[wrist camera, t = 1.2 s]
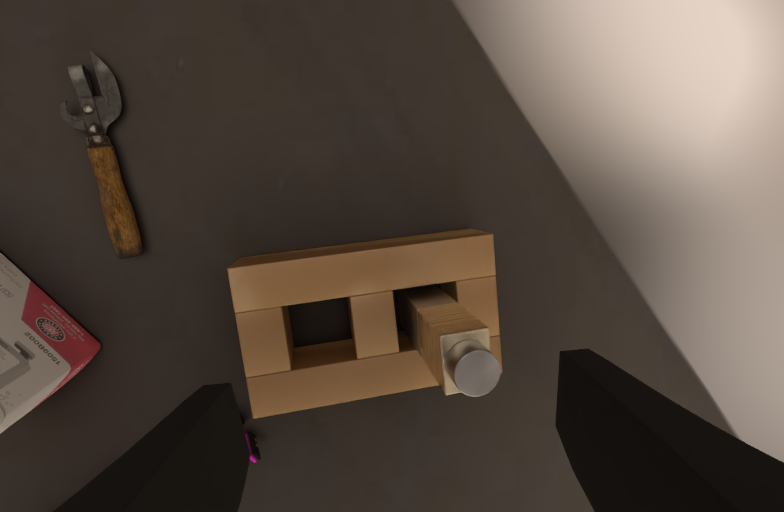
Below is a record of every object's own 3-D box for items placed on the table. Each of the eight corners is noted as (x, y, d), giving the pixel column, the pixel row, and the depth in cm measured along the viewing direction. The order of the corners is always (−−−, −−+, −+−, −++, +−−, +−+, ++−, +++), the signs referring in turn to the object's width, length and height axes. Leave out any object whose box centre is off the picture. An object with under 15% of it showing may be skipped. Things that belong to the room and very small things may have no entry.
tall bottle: (431, 318, 24) (506, 400, 14) (399, 323, 23) (453, 410, 14) (428, 278, 23) (502, 337, 14) (395, 283, 23) (448, 346, 14)
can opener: (148, 254, 21) (138, 258, 20) (94, 259, 20) (81, 263, 19) (116, 52, 19) (104, 43, 18) (58, 53, 19) (41, 44, 18)
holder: (480, 352, 25) (502, 374, 22) (260, 389, 23) (252, 419, 20) (471, 228, 23) (493, 233, 20) (238, 257, 22) (226, 268, 19)
